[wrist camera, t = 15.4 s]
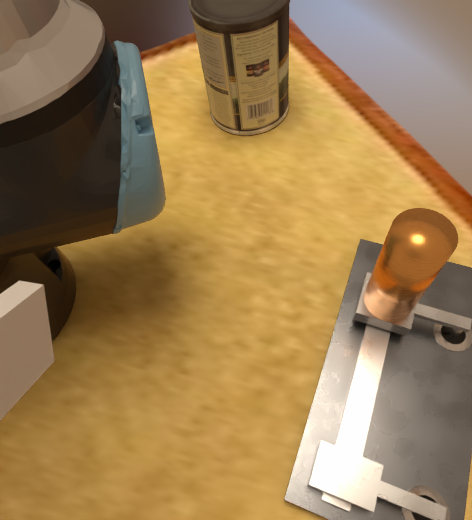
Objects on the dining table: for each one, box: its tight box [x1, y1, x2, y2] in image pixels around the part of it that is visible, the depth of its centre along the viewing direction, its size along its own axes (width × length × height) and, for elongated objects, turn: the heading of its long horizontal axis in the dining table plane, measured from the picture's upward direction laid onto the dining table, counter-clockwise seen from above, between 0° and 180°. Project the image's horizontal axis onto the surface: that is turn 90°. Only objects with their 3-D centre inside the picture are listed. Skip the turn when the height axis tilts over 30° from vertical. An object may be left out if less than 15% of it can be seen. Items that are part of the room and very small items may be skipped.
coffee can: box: [188, 0, 290, 135], centre depth 47 cm, size 10×10×14 cm
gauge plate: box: [284, 239, 472, 520], centre depth 33 cm, size 12×24×4 cm, turn 158°
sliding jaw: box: [353, 208, 472, 337], centre depth 31 cm, size 9×4×12 cm, turn 68°
